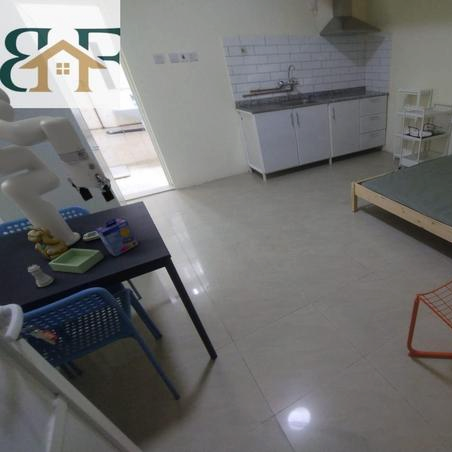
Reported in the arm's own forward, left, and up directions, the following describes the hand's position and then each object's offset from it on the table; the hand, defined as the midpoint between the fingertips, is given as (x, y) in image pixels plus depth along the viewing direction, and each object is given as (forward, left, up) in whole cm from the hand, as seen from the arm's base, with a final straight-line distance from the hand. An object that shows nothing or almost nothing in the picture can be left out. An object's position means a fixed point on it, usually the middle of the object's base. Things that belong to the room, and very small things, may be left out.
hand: (99, 199), depth 105 cm
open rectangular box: (-13, -11, -23) cm, 29 cm away
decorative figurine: (-28, -7, -24) cm, 37 cm away
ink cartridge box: (-2, 0, -24) cm, 24 cm away
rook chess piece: (-15, -22, -24) cm, 36 cm away
